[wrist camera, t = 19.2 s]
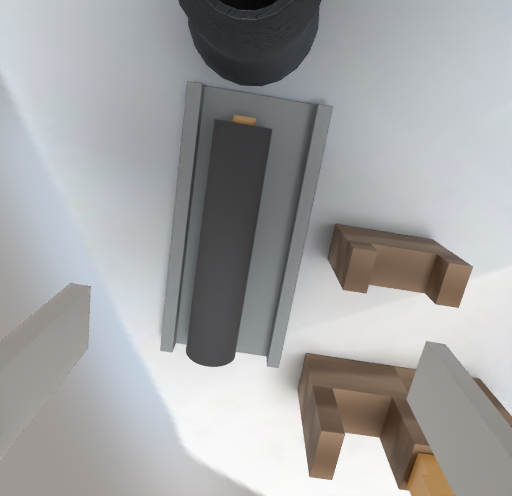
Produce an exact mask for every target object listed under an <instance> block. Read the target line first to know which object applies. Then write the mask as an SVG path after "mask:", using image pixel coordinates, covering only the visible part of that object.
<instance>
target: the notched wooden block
mask: <svg viewBox="0 0 512 496" xmlns="http://www.w3.org/2000/svg"><path fill="white" fill-rule="evenodd" d="M415 373H416V370H415V369H408V368H402V367H395V366H388V365H382V364H375V363H368V362H361V361H355V360H348V359H341V358H334V357H328V356H321V355H314V354H308V353H306V357H305V361H304V365H303V370H302V374H301V378H300V383H299V387H298V397H299V404H300V411H301V419H302V426H303V433H304V441H305V448H306V455H307V462H308V470H309V477H314V478H321V479H328V480H332V478H333V475H334V471H335V468H336V464H337V461H338V457H339V454H340V450H341V446H342V443H343V439H344V436H345V433H352V434H359V435H366V436H373V437H380V440H381V443H382V445H383V448H384V451H385V453H386V456H387V459H388V461H389V464H390V467H391V469H392V472H393V475H394V477H395V480H396V483H397V485H398V488H399V489H401V490H409V488H408V486H407V483H408V481H409V478H410V475H411V472H412V469H413V467H414V464H415V461H416V458H417V455H418V453H422V454H429V455H434V454H433V452H432V450H431V448H430V446H429V444H428V442H427V440H426V438H425V436H424V434H423V432H422V430H421V428H420V426H419V424H418V422H417V420H416V418H415V416H414V414H413V412H412V410H411V408H410V406H409V404H408V402H407V400H406V399H407V396H408V393H409V390H410V387H411V384H412V381H413V378H414V376H415ZM473 380H474V381H475V382H476V383H477V385H478V386H479V387H480V388H481V390H482V391H483V392H484V393H485V395H486V396H487V397H488V398H489V400H490V401H491V402H492V403H493V405H494V406H495V407H496V408H497V410H498V411H499V412H500V413H501V415H502V416H503V417H504V418H505V420H506V421H507V422H508V423H509V425H511V426H512V416H511V415H510V414H509V413H508V411H507V410H506V409H505V408H504V407H503V406H502V404H501V403H500V402H499V401H498V400H497V399H496V397H495V396H494V395H493V394H492V393H491V391H490V390H489V389H488V388H487V387H486V386H485V384H484V383H483V382H482V381H481V380H480V379H476V378H473Z"/></svg>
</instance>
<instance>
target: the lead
mask: <svg viewBox="0 0 512 496" xmlns="http://www.w3.org/2000/svg"><path fill="white" fill-rule="evenodd" d="M255 124H256V118H251V117H245V116H239V115H233V119H232V122H229V121H223V120H216V119H214V126H213V135H212V143H211V151H210V159H209V167H208V175H207V184H206V192H205V200H204V208H203V216H202V225H201V233H200V241H199V249H198V257H197V265H196V274H195V282H194V290H193V298H192V306H191V314H190V323H189V331H188V339H187V347H186V353H187V356H188V357H189V358H190V359H191V360H192V361H194V362H195V363H198V364H200V365H204V366H210V367H218V366H223V365H226V364H229V363H230V362H231V361H233V359H234V357H235V352H236V346H237V340H238V334H239V328H240V322H241V316H242V310H243V304H244V298H245V292H246V286H247V280H248V274H249V268H250V262H251V256H252V250H253V244H254V238H255V232H256V226H257V220H258V214H259V208H260V202H261V196H262V190H263V184H264V178H265V172H266V165H267V159H268V153H269V147H270V141H271V135H272V129H270V128H264V127H259V126H255Z"/></svg>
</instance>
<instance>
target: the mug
mask: <svg viewBox="0 0 512 496" xmlns="http://www.w3.org/2000/svg"><path fill="white" fill-rule="evenodd" d="M320 3H321V0H179V4H180V6H181V7H182V9H183V10H184V12H185V13H186V15H187V17H188V25H189V28H190V32H191V35H192V38H193V42H194V45H195V47H196V49H197V50H198V52H199V54H200V55H201V57H202V58H203V60H204V61H205V63H206V64H207V65H208V66H209V67H210V68H211V69H212V70H214V71H215V72H216V73H217V74H219V75H220V76H221V77H222V78H224V79H226V80H229V81H231V82H234V83H237V84H239V85H243V86H263V85H267V84H270V83H273V82H276V81H279V80H281V79H283V78H284V77H285V76H287V75H288V74H290V73H291V72H292V71H294V70H295V69H296V68H298V66H299V65H300V63H301V62H302V61H303V59H304V58H305V57H306V55H307V54H308V53H309V51H310V49H311V47H312V44H313V41H314V38H315V36H316V33H317V30H318V19H319V5H320Z"/></svg>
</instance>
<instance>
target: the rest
mask: <svg viewBox="0 0 512 496" xmlns="http://www.w3.org/2000/svg"><path fill="white" fill-rule="evenodd" d="M328 260H329V262H330V264H331V266H332V268H333V271H334V273H335V275H336V277H337V279H338V281H339V283H340V285H341V287H342V289H343V290H347V291H354V292H360V293H367V289H368V285H375V286H382V287H388V288H394V289H401V290H407V291H414V292H420V293H425V294H426V295H427V296H428V297H429V298H430V299H431V300H432V301H433V302H434V303H435V304H438V305H444V306H450V307H457V308H459V305H460V302H461V299H462V297H463V294H464V291H465V288H466V285H467V282H468V279H469V276H470V274H471V271H472V268H473V266H471V265H470V264H468V263H467V262H465V261H464V260H462V259H461V258H459V257H458V256H456V255H455V254H453V253H452V252H450V251H449V250H447V249H446V248H444V247H443V246H442V245H440V244H439V243H437V242H436V241H434V240H432V239H425V238H419V237H413V236H407V235H401V234H394V233H388V232H382V231H376V230H369V229H363V228H357V227H351V226H345V225H338V224H336V226H335V230H334V235H333V239H332V243H331V248H330V252H329V256H328Z"/></svg>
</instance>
